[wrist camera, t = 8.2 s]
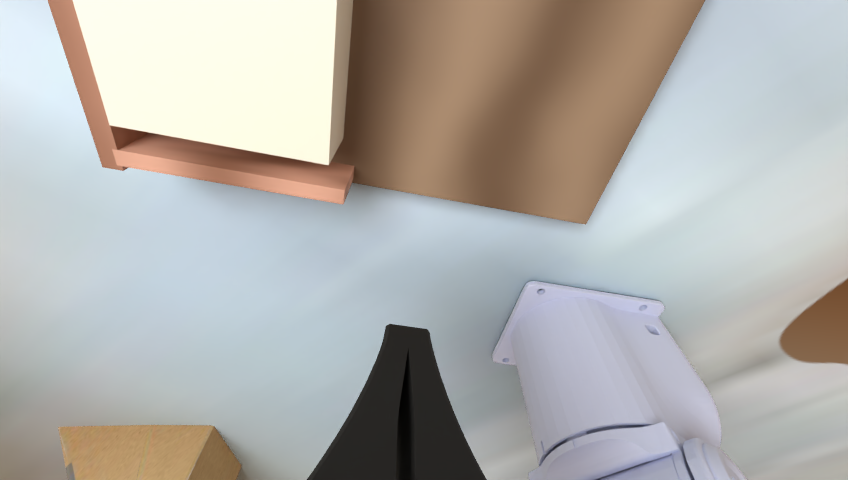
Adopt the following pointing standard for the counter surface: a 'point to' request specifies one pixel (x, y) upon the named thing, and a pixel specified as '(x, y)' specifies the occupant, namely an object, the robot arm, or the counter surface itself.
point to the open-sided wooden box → (450, 103)
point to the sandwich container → (147, 453)
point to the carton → (225, 70)
